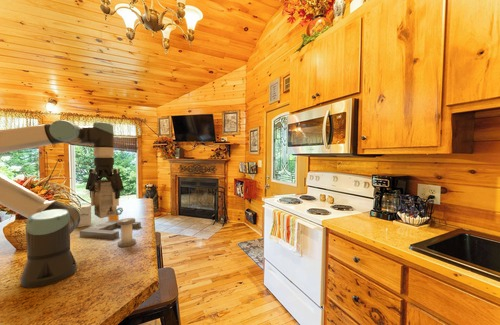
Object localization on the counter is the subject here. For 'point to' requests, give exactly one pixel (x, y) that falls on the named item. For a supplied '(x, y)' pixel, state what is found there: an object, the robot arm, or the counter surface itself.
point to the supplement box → (85, 215)
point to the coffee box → (103, 199)
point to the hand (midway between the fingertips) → (105, 205)
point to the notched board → (105, 230)
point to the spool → (126, 232)
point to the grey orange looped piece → (116, 215)
